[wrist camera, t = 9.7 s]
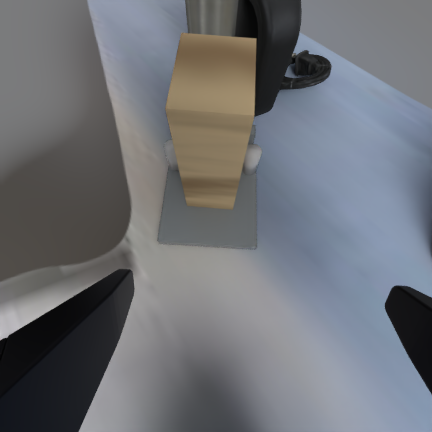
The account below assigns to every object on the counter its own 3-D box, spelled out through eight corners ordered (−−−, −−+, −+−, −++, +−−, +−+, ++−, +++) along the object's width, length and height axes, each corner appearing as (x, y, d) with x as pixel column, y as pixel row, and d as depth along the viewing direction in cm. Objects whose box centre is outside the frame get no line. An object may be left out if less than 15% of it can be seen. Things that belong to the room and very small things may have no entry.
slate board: (254, 249, 22) (263, 237, 19) (159, 243, 22) (149, 230, 19) (254, 150, 27) (261, 125, 23) (174, 146, 27) (168, 119, 23)
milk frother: (174, 82, 30) (145, -104, 17) (257, 32, 35) (289, -150, 21) (252, 149, 27) (297, -18, 13) (334, 84, 31) (435, -94, 17)
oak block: (232, 209, 23) (254, 115, 12) (187, 205, 23) (165, 108, 12) (235, 158, 25) (256, 38, 14) (194, 155, 25) (181, 32, 14)
